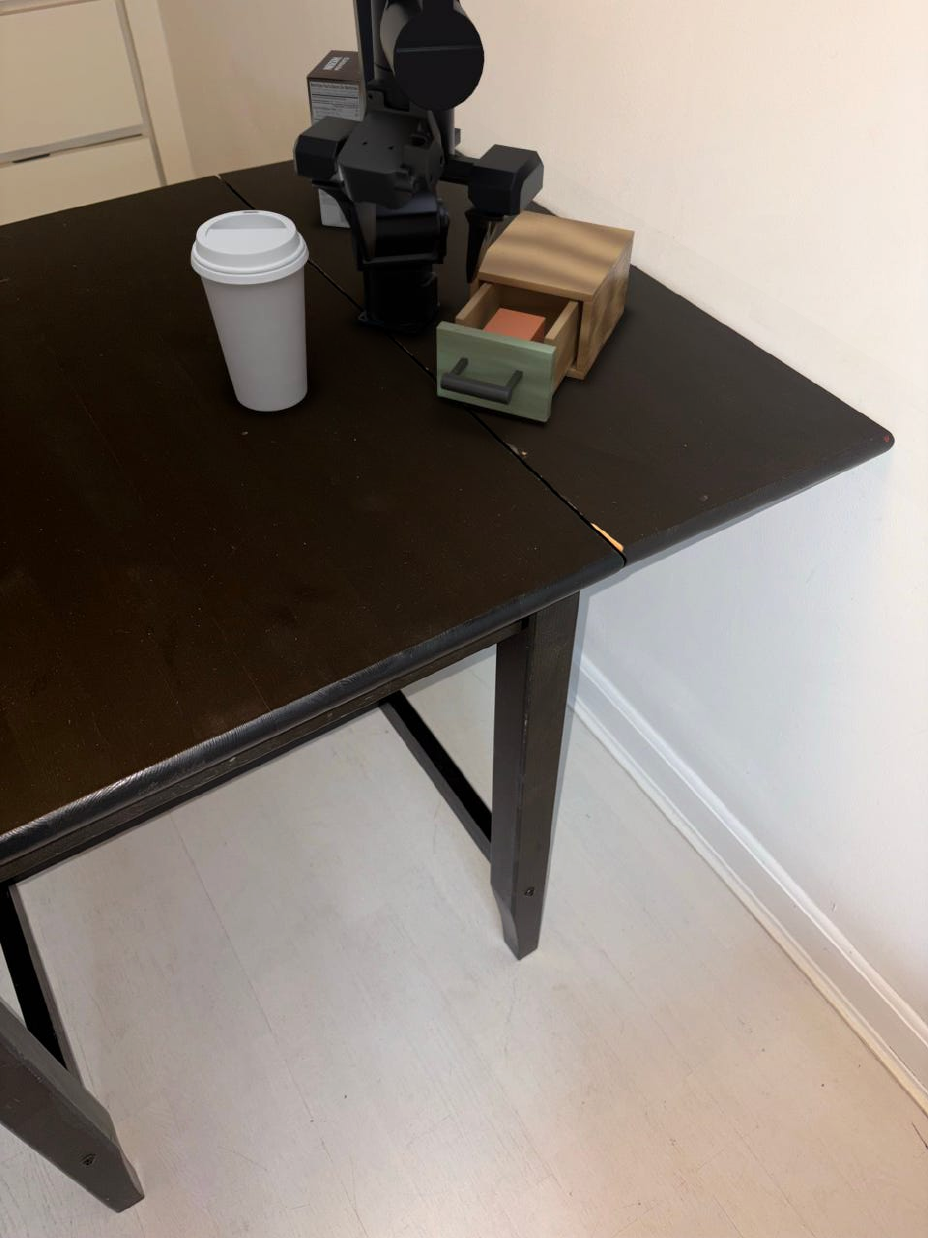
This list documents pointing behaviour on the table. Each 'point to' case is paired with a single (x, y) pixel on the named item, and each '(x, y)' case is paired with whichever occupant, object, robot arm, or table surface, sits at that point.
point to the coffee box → (335, 108)
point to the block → (517, 325)
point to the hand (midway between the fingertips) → (419, 270)
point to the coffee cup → (257, 303)
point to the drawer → (508, 352)
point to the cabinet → (566, 271)
